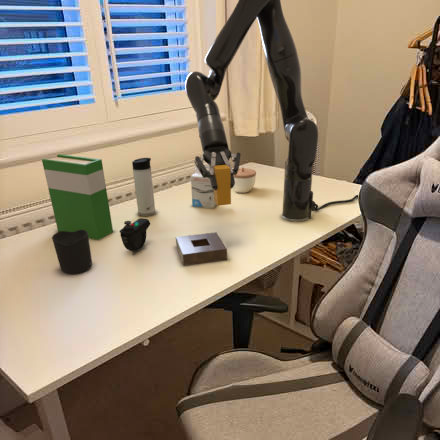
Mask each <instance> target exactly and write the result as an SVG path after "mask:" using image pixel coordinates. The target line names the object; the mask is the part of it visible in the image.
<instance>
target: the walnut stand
mask: <svg viewBox="0 0 440 440" xmlns="http://www.w3.org/2000/svg"><path fill="white" fill-rule="evenodd" d="M175 245H176V250H177V252H178V255H179V258H180V260H181V263H182V265H183V266H190V265H197V264H205V263H206V264H207V263H214V262H221V261H227V260H228V249H227V247H226V245H225V244H224V242H223V240H222V239H221V237H220V235H219V234H218V232H217V231H216V232H215V231H214V232H206V233H198V234H190V235H181V236H176V237H175Z"/></svg>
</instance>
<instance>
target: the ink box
mask: <svg viewBox="0 0 440 440" xmlns="http://www.w3.org/2000/svg"><path fill="white" fill-rule="evenodd" d="M204 166H205V168H206V169H207V171H209V170H210V165H208V164H204ZM194 169H195V170H194V171H195V173H193V174H191V175H190V187H191V203H192V204H191V206H192V207H197V208H207V209H214V208H215V206H217V204H216V203H215V200H214V189H212V187H211V182H210V179H209V178H207V177H206V178H203V176H202V175H201V173H200V171H199V170H198V168H197V166H196V165H195V164H194Z"/></svg>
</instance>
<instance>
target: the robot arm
mask: <svg viewBox="0 0 440 440" xmlns="http://www.w3.org/2000/svg"><path fill="white" fill-rule="evenodd" d="M256 19H257V22H258V26H259V31H260V37H261V44H262V49H263V53H264V57H265V62H266V66H267V70H268V74H269V77H270V80H271V82H272V86H273V90H274V93H275V96H276V98H277V101H278V105H279V109H280V113H281V120H282V125H283V133H284V136H285V139H286V141H287V142H288V153H287V158H286V159H285V161H284V176H283V177H284V179H283V195H282V214H281V218H282V219H283V220H284V221H288V222H293V223H301V222H305V221H309V220H311V219H312V214H313V213H312V212H319V210H322V209H324V208H326V207H328V206H330V205H334V204H336V205H337V204H346V203H351V202H354V201H355V200H357V199H359V198H358V195H359V194H356V195H354V196H353V197H352V198H349V199H343V200H335V201H328V202H326V203H324V204H323V205H321V206H319V205H318V204H317V203H316V202H315V201H314V198H313V197H314V191H313V190H312V183H313V171H314V164H315V162H316V159H317V151H318V143H319V128H318V125H317V124H316V123H315V121H314V120H312V119H310V118H309V116H308V114H307V111H306V107H305V104H304V100H303V96H302V95H303V94H302V69H301V63H300V59H299V55H298V50H297V47H296V43H295V41H294V37H293V35H292V33H291V30H290V28H289V25H288V23H287V20H286V18H285V15H284V12H283V7H282V1H281V0H238V1H237V3H236V5H235V7H234V9H233V10H232V12H231V14H230V15H229V17H228V19H227V20H226V21H225V23H224V25H223V26H222V28H221V29H220V31H219V32H218V34H217V35H216V37H215V39H214V40H213V43H212V44H211V46H210V48H209V50H208V52H207V54H206V55H205V58H204V63H205V64H206V66H207V67H208V68H209V74H208V75H206V74H205V73H202V72H200V71H193V72H190V73H189V74H188V75H187V77H186V80H185V83H184V84H185V85H184V88H185V93H186V96H187V99H188V101H189V103H190V106H191V107H192V109H193V111H194V112H195V117H196V122H197V127H198V128H197V129H198V137H199V139H200V145H201V148H202V155H200V156H198V155H196V156H195V158H194V166H195V165H196V166H197V168H198V170H199V171H200V173H201V175H202V176H203V178H206V177H207V178H209V179H210V182H211V187H212V189H214V190H217V188H218V185H217V181H216V177H215V175H214V166H218V165H228V166H229V167H230V175H231V190H233V189H234V188H233V186H234V184H235V180H234V176H233V175H237V172H238V170H239V169H240V163H241V155H242V154H241V153H240V152H236V153H234V152H232V151H231V150H230V148H229V143H228V139H227V136H226V130H225V126H224V123H223V120H222V117H221V113H220V108H219V105H218V104H217V102H216V100H217V98H218V96H219V95H220V92H221V90H222V85H223V82H224V80H225V76H226V72H227V70H228V68H229V67H230V65H231V63H232V61H233V60H234V58H235V56H236V54H237V53H238V50H239V49H240V47H241V45H242V43H243V42H244V40H245V38H246V36H247V34H248V33H249V30H250V29H251V27H252V26H253V24H254V22H255V21H256ZM230 159H232V162H233V168H232V166H231V163H230ZM204 162H205V163H206V165H210V170H209V169H208V168H206V167H205V166H204V165H205V164H204ZM207 170H209V171H207Z"/></svg>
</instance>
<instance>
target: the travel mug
mask: <svg viewBox="0 0 440 440" xmlns="http://www.w3.org/2000/svg"><path fill="white" fill-rule="evenodd" d="M151 161H152V158H151V157H140V158H136V159H134V160H132V162H131V166H132V174H133V184H134V191H135V198H136V207H137V213H138V215H139V216H140V217H150V216H153V215H155V214H156V205H155V195H154V186H153V176H152V175H153V174H152V167H151Z"/></svg>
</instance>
